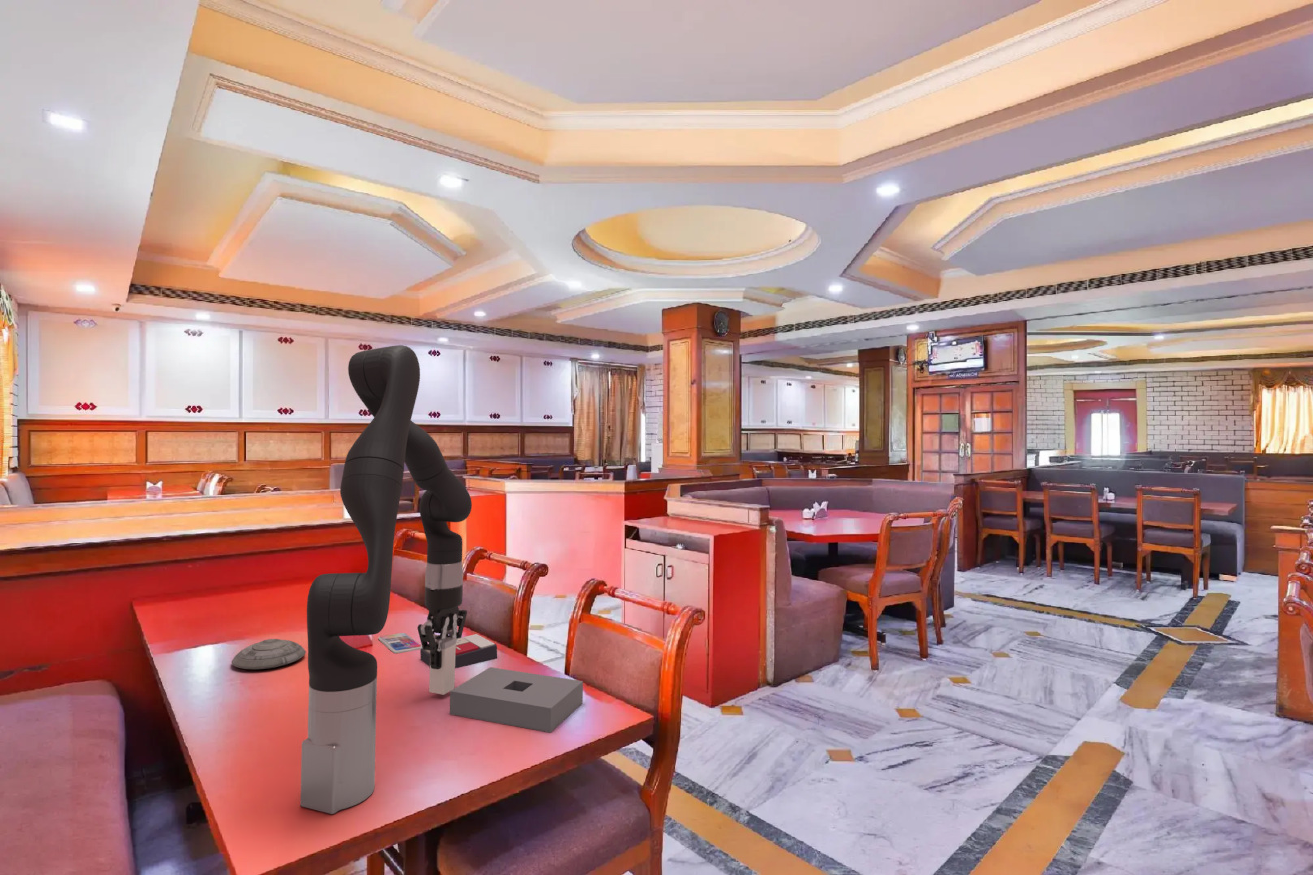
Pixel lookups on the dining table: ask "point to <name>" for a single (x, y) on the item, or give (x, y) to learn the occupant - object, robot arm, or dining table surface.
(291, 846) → the dining table surface
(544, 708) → the header
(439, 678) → the pale square peg
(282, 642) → the flying saucer
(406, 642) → the smartphone
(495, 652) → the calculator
